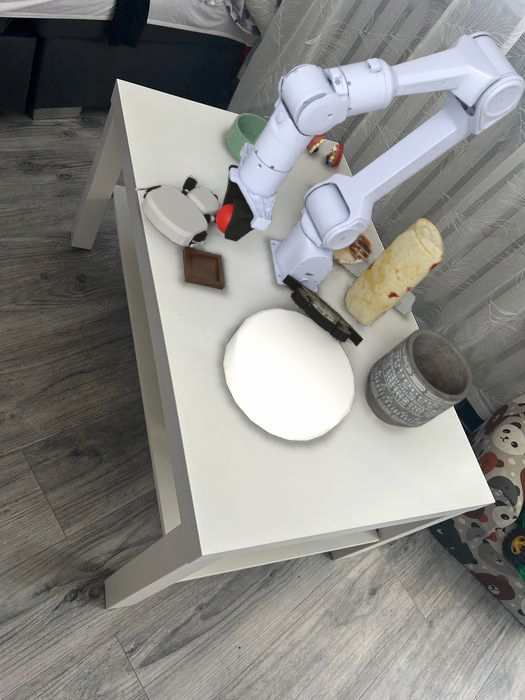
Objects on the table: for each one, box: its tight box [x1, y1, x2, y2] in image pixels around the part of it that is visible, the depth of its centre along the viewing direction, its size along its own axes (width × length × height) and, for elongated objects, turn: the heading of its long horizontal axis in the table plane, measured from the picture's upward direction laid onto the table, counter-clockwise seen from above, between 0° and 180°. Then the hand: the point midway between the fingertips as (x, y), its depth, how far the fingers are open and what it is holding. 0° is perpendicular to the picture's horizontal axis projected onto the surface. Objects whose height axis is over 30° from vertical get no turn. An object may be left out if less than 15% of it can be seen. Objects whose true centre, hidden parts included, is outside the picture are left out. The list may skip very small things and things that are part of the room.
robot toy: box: [134, 174, 222, 248], centre depth 94 cm, size 12×4×15 cm
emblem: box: [282, 274, 364, 347], centre depth 93 cm, size 16×2×15 cm
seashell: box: [333, 231, 374, 265], centre depth 105 cm, size 8×6×10 cm
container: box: [222, 307, 356, 442], centre depth 87 cm, size 20×20×5 cm
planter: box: [365, 328, 474, 428], centre depth 92 cm, size 12×12×13 cm
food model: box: [344, 217, 444, 327], centre depth 98 cm, size 10×7×20 cm
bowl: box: [225, 112, 269, 162], centre depth 113 cm, size 10×10×4 cm
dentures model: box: [306, 132, 345, 168], centre depth 124 cm, size 6×4×8 cm
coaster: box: [182, 246, 226, 291], centre depth 92 cm, size 6×6×1 cm
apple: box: [215, 203, 233, 234], centre depth 86 cm, size 5×5×5 cm
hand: (228, 225), depth 87 cm, fingers closed on apple, 4 cm apart
